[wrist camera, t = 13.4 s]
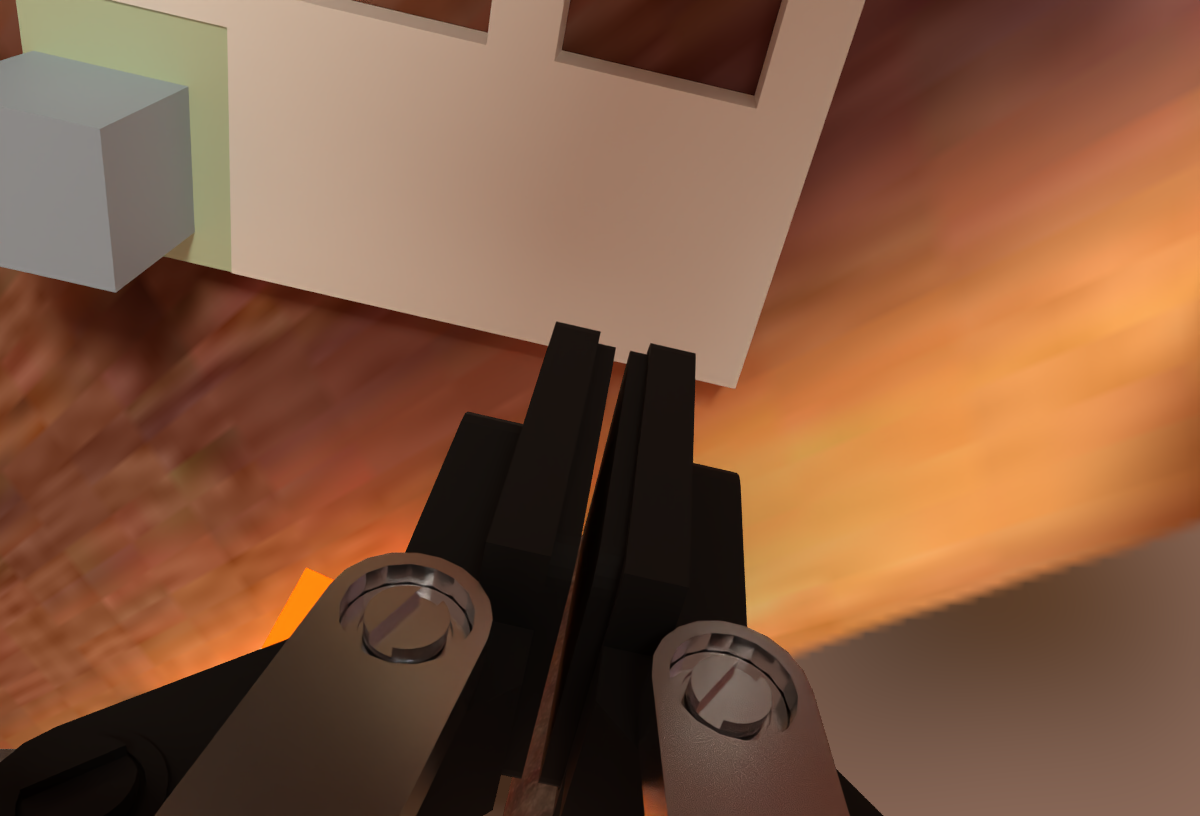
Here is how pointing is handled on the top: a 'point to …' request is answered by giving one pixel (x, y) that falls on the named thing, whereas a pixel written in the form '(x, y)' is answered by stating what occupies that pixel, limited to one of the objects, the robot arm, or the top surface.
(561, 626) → the brown piece
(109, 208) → the block
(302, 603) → the orange juice
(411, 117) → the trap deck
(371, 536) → the top surface
